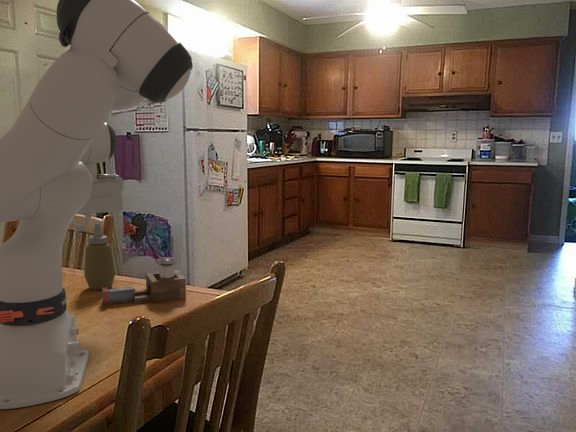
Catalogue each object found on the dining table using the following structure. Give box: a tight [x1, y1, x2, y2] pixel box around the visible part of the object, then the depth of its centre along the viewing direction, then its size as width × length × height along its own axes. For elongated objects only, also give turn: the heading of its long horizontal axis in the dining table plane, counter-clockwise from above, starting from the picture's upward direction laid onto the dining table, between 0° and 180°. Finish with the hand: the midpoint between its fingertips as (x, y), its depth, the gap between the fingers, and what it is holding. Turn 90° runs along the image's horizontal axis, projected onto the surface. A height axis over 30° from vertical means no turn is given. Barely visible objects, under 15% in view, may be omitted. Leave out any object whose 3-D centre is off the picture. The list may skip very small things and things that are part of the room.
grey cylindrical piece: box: [156, 256, 177, 280], centre depth 135 cm, size 5×5×10 cm
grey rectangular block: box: [101, 285, 136, 307], centre depth 130 cm, size 4×8×4 cm, turn 116°
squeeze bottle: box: [84, 222, 116, 291], centre depth 140 cm, size 8×8×18 cm
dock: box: [133, 269, 187, 304], centre depth 135 cm, size 9×13×6 cm
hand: (80, 231), depth 124 cm, fingers closed
